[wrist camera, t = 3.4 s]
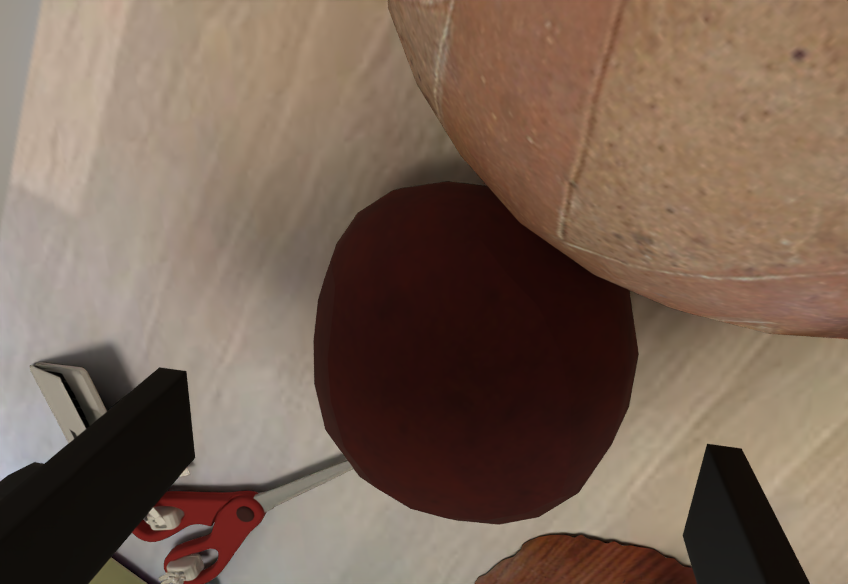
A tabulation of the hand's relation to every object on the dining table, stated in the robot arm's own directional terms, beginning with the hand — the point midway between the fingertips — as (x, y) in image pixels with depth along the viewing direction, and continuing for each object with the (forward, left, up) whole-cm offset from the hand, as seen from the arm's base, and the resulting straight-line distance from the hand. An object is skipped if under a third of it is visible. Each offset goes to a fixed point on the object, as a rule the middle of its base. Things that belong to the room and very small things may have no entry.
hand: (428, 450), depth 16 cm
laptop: (+14, +11, -10) cm, 21 cm away
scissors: (+7, +13, -9) cm, 17 cm away
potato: (-1, 0, -10) cm, 10 cm away
